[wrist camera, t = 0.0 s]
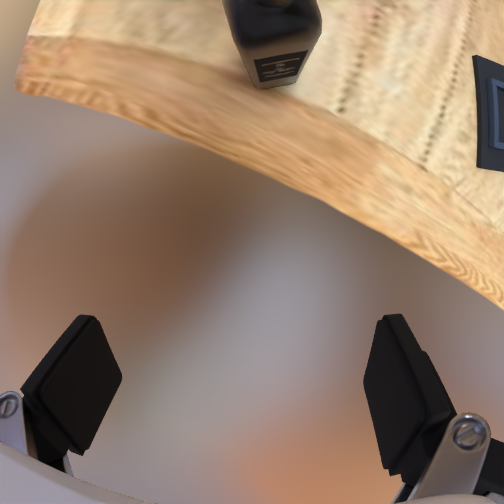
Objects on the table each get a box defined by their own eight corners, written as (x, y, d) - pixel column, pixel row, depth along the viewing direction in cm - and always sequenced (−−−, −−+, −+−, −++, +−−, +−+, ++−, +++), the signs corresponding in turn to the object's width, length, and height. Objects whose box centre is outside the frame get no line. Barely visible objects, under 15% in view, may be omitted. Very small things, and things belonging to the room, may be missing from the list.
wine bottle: (299, 82, 32) (380, -40, 5) (255, 91, 33) (197, -20, 6) (288, 43, 30) (321, -126, 3) (244, 52, 31) (171, -106, 3)
